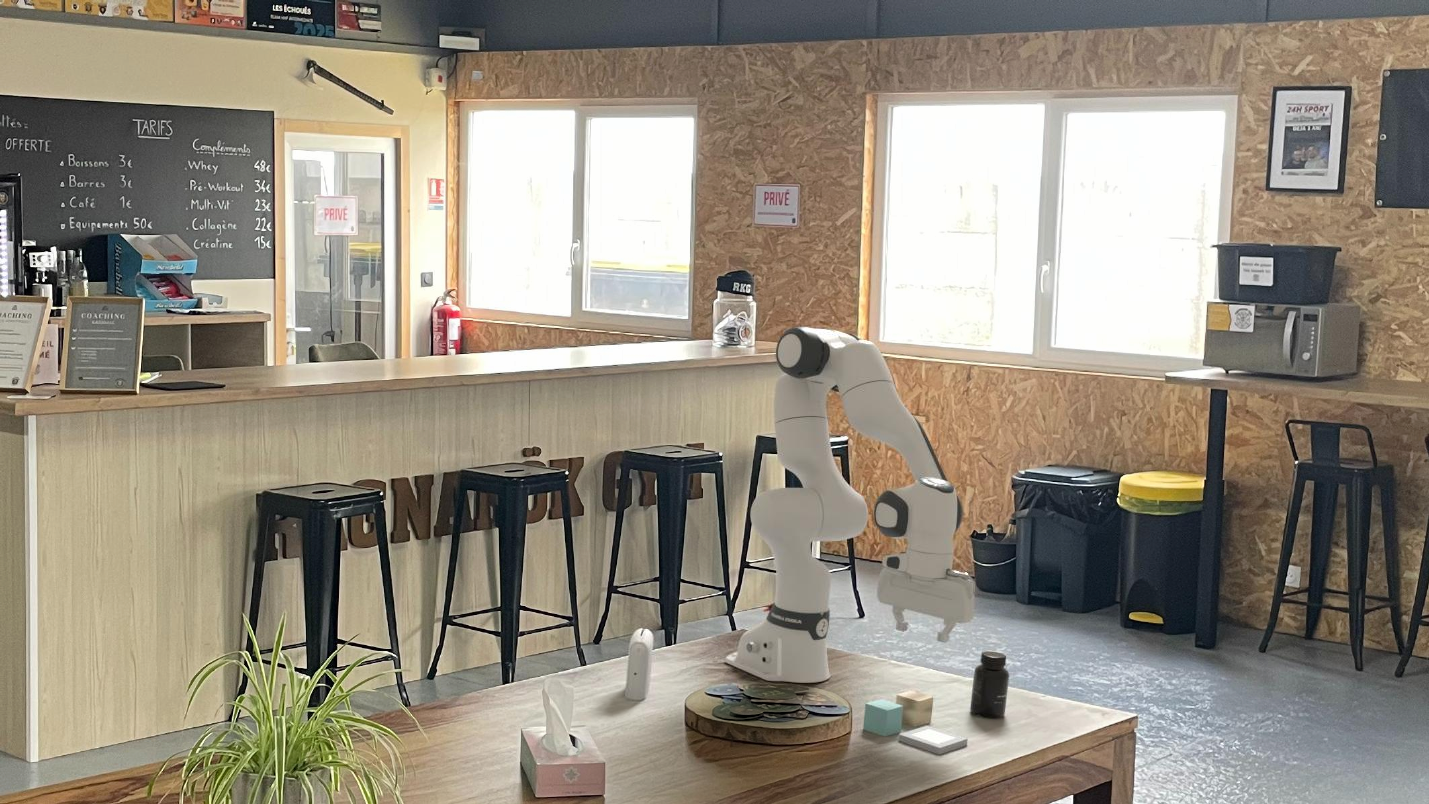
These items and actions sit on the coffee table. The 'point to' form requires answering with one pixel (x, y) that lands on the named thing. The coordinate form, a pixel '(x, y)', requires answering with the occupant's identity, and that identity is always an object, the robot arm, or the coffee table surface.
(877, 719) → the teal cube
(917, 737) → the plate
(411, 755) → the coffee table surface
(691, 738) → the coffee table surface
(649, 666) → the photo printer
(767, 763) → the coffee table surface
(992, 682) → the supplement bottle
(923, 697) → the maple cube
